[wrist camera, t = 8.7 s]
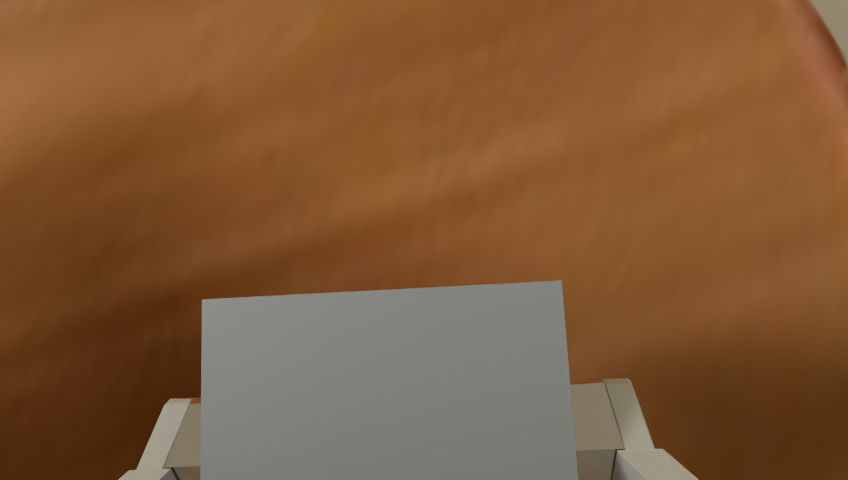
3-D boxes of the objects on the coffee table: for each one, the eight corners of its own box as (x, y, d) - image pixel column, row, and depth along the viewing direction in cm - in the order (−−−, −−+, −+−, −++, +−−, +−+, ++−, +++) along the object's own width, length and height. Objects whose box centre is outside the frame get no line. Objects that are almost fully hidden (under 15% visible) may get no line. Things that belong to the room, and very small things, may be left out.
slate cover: (307, 526, 16) (198, 664, 9) (303, 314, 17) (202, 298, 10) (534, 518, 16) (592, 654, 9) (519, 303, 17) (561, 280, 10)
